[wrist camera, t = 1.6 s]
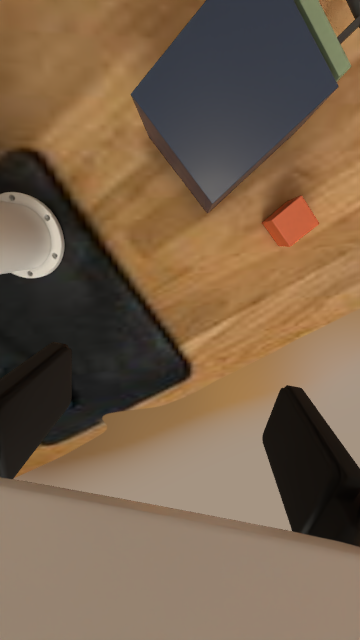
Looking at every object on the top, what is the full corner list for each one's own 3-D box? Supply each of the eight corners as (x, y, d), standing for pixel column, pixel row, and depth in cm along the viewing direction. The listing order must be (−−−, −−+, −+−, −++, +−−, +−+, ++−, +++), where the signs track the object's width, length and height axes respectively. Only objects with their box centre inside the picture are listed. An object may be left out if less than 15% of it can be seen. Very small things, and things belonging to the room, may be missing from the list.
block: (278, 246, 34) (289, 247, 30) (261, 222, 33) (271, 220, 29) (304, 225, 33) (319, 223, 29) (287, 200, 32) (301, 194, 28)
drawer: (301, -36, 24) (346, -149, 17) (354, 70, 26) (411, 9, 19) (169, 115, 29) (161, 75, 22) (224, 191, 31) (233, 178, 24)
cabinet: (237, 34, 27) (259, -67, 18) (295, 131, 29) (339, 86, 21) (148, 135, 30) (130, 94, 22) (207, 213, 33) (212, 204, 25)
